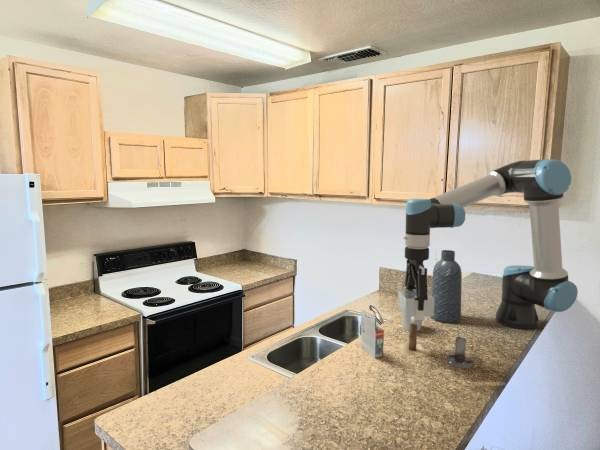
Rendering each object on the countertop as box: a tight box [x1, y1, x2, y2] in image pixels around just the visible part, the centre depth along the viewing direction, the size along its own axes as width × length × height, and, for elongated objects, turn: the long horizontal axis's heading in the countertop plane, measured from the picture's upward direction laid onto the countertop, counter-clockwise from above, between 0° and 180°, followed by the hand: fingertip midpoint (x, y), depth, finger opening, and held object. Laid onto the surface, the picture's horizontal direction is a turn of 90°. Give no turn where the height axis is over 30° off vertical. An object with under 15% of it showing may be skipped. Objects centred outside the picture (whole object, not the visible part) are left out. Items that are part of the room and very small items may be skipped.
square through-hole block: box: [397, 289, 434, 318], centre depth 125 cm, size 9×9×6 cm
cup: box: [401, 312, 423, 332], centre depth 144 cm, size 11×8×8 cm
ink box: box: [360, 309, 385, 359], centre depth 124 cm, size 4×8×15 cm, turn 26°
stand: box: [397, 323, 429, 356], centre depth 127 cm, size 8×8×10 cm
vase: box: [429, 249, 463, 324], centre depth 157 cm, size 12×12×28 cm
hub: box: [446, 336, 474, 369], centre depth 118 cm, size 8×8×8 cm
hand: (414, 313), depth 126 cm, fingers closed on square through-hole block, 9 cm apart
